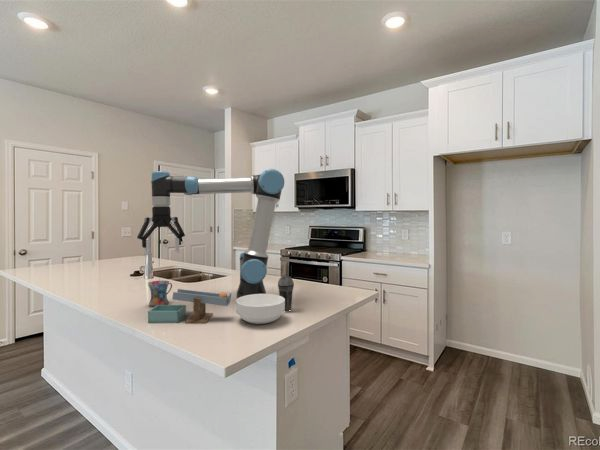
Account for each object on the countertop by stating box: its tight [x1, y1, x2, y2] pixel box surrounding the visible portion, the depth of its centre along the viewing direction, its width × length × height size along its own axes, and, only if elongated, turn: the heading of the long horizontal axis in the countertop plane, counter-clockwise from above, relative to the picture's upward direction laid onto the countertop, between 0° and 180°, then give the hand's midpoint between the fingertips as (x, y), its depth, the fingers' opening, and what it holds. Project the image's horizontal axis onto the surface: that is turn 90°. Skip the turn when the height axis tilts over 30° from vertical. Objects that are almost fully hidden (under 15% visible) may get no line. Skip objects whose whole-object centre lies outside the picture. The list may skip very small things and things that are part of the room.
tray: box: [147, 304, 187, 324], centre depth 134 cm, size 12×9×4 cm
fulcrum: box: [185, 298, 214, 324], centre depth 134 cm, size 8×11×10 cm
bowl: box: [235, 293, 285, 325], centre depth 133 cm, size 20×20×8 cm
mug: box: [147, 280, 173, 307], centre depth 155 cm, size 12×9×11 cm
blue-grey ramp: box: [171, 288, 232, 307], centre depth 137 cm, size 22×13×4 cm, turn 92°
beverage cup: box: [277, 265, 295, 312], centre depth 146 cm, size 7×7×20 cm
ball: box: [219, 291, 228, 298], centre depth 134 cm, size 4×4×4 cm
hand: (162, 253), depth 147 cm, fingers open, 13 cm apart
